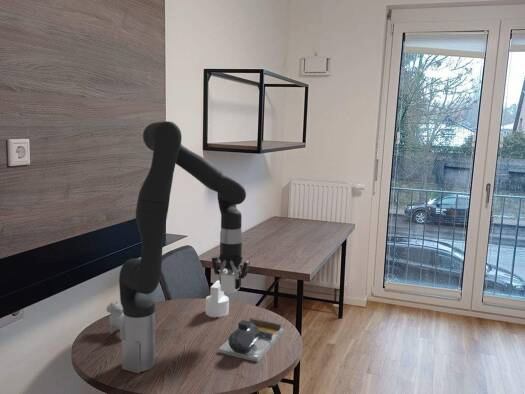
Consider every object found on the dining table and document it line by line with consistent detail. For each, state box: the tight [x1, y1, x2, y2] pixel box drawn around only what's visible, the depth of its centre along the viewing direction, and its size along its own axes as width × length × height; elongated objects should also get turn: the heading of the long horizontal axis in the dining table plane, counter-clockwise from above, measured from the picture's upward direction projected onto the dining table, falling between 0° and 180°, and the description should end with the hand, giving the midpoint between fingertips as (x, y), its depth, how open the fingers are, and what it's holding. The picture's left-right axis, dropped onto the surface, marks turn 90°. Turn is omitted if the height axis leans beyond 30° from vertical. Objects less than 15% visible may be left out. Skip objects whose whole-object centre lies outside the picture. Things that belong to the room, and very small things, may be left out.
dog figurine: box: [106, 301, 124, 341], centre depth 168 cm, size 5×13×11 cm, turn 48°
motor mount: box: [218, 317, 285, 363], centre depth 164 cm, size 24×14×10 cm, turn 157°
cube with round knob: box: [221, 269, 241, 294], centre depth 166 cm, size 5×5×8 cm
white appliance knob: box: [205, 279, 230, 318], centre depth 188 cm, size 9×9×12 cm
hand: (230, 287), depth 167 cm, fingers closed on cube with round knob, 5 cm apart
